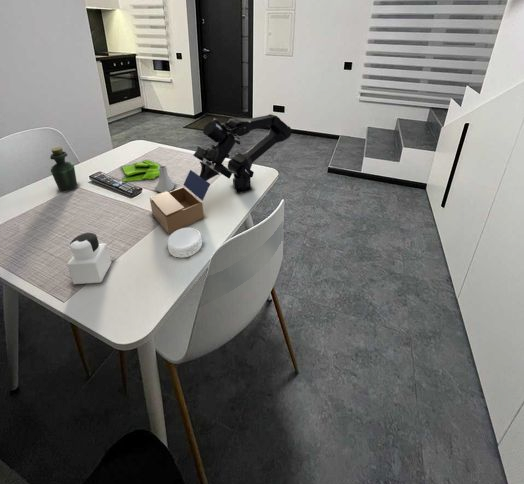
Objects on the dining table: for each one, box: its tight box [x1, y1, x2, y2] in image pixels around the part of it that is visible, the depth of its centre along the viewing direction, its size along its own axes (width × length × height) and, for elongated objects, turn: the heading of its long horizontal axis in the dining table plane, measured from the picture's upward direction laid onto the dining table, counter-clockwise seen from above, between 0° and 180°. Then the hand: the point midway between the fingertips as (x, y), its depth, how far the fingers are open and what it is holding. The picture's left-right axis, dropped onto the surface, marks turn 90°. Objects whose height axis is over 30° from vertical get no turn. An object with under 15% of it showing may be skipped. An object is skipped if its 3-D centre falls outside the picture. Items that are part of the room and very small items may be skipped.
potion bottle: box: [49, 146, 78, 193], centre depth 117 cm, size 8×8×18 cm
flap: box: [183, 169, 211, 202], centre depth 103 cm, size 6×14×1 cm
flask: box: [155, 165, 175, 193], centre depth 118 cm, size 7×7×10 cm
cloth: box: [121, 159, 161, 182], centre depth 134 cm, size 20×22×2 cm
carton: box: [149, 186, 205, 235], centre depth 101 cm, size 13×14×7 cm
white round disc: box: [167, 227, 203, 259], centre depth 87 cm, size 10×10×4 cm
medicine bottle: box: [66, 232, 112, 285], centre depth 76 cm, size 7×7×12 cm
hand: (199, 183), depth 104 cm, fingers closed
